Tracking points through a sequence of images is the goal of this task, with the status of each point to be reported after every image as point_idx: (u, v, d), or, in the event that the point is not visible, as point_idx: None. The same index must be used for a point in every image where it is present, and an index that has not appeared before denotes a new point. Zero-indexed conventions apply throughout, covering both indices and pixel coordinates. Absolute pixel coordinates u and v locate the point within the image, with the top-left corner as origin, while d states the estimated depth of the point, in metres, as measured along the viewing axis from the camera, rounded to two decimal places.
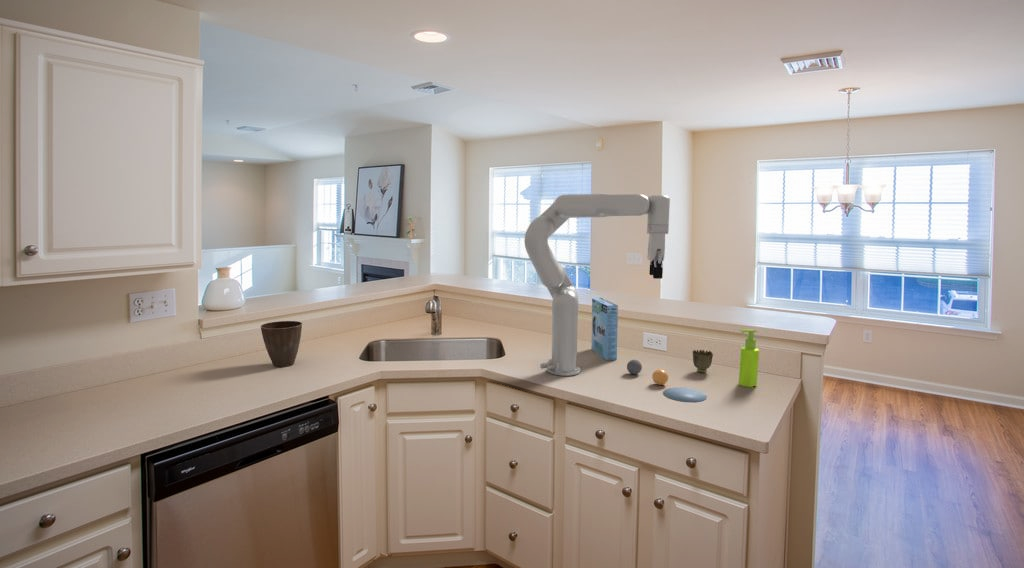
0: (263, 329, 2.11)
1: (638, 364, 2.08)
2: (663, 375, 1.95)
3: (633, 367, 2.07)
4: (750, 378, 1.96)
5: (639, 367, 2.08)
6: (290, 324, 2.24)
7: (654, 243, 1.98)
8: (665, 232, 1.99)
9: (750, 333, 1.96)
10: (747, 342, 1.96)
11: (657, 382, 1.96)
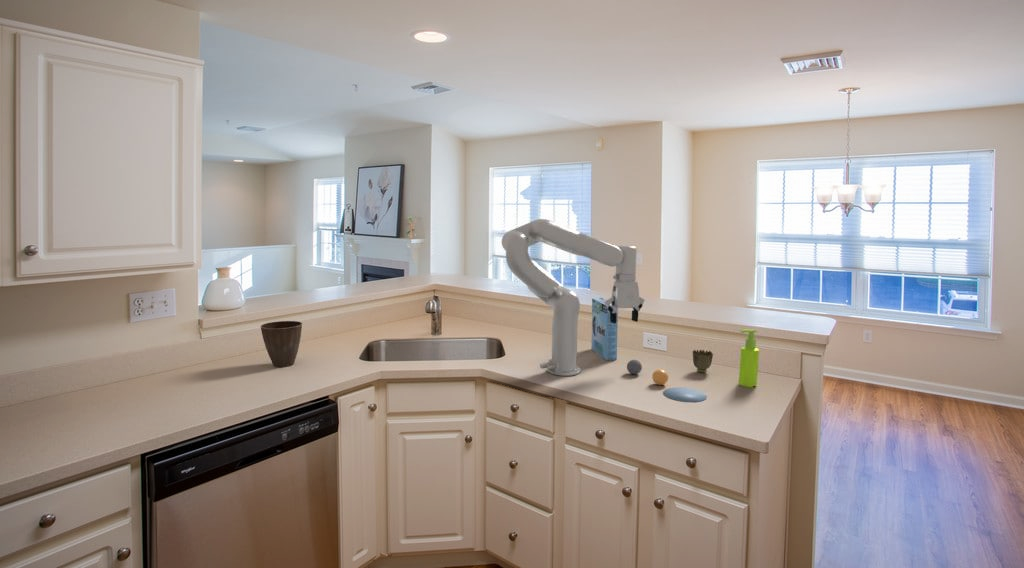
0: (263, 329, 2.11)
1: (638, 364, 2.08)
2: (663, 375, 1.95)
3: (633, 367, 2.07)
4: (750, 378, 1.96)
5: (639, 367, 2.08)
6: (290, 324, 2.24)
7: None
8: None
9: (750, 333, 1.96)
10: (747, 342, 1.96)
11: (657, 382, 1.96)
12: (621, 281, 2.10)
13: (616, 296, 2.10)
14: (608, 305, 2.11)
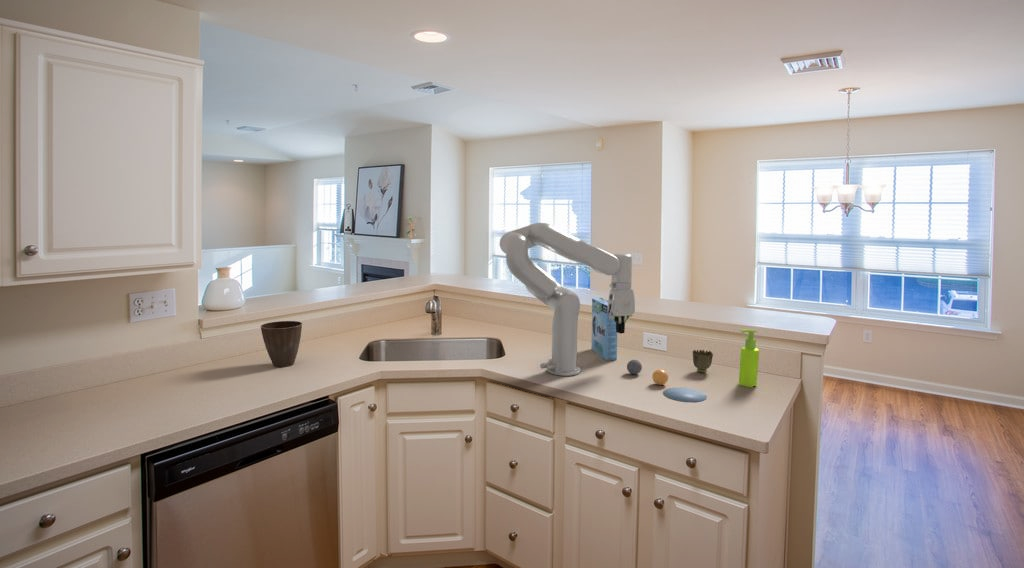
0: (263, 329, 2.11)
1: (638, 364, 2.08)
2: (663, 375, 1.95)
3: (633, 367, 2.07)
4: (750, 378, 1.96)
5: (639, 367, 2.08)
6: (290, 324, 2.24)
7: None
8: None
9: (750, 333, 1.96)
10: (747, 342, 1.96)
11: (657, 382, 1.96)
12: (618, 289, 2.11)
13: (613, 304, 2.11)
14: (613, 318, 2.14)
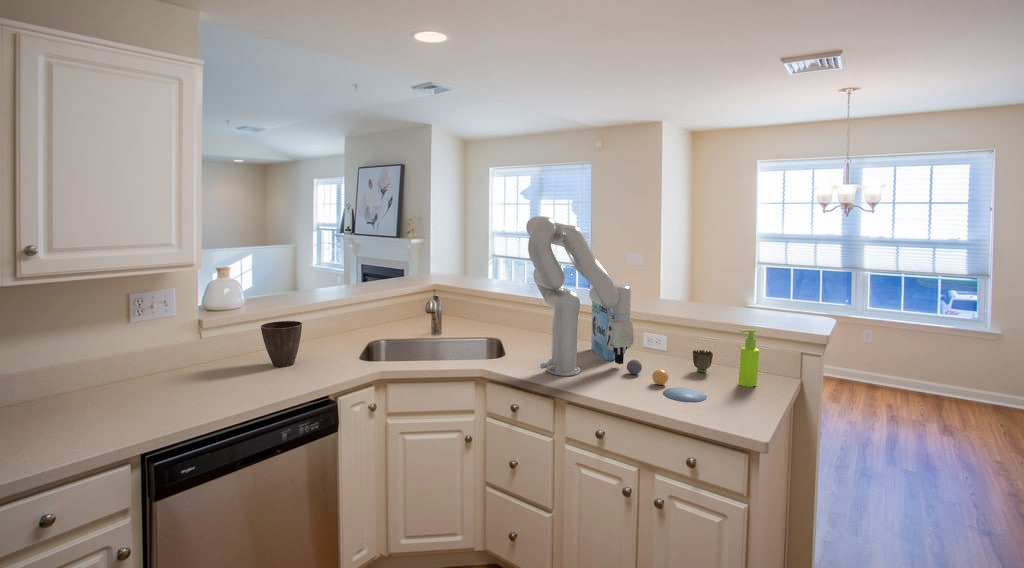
0: (263, 329, 2.11)
1: (638, 364, 2.08)
2: (663, 375, 1.95)
3: (633, 367, 2.07)
4: (750, 378, 1.96)
5: (639, 367, 2.08)
6: (290, 324, 2.24)
7: None
8: None
9: (750, 333, 1.96)
10: (747, 342, 1.96)
11: (657, 382, 1.96)
12: (617, 321, 2.13)
13: (612, 336, 2.13)
14: (612, 349, 2.15)
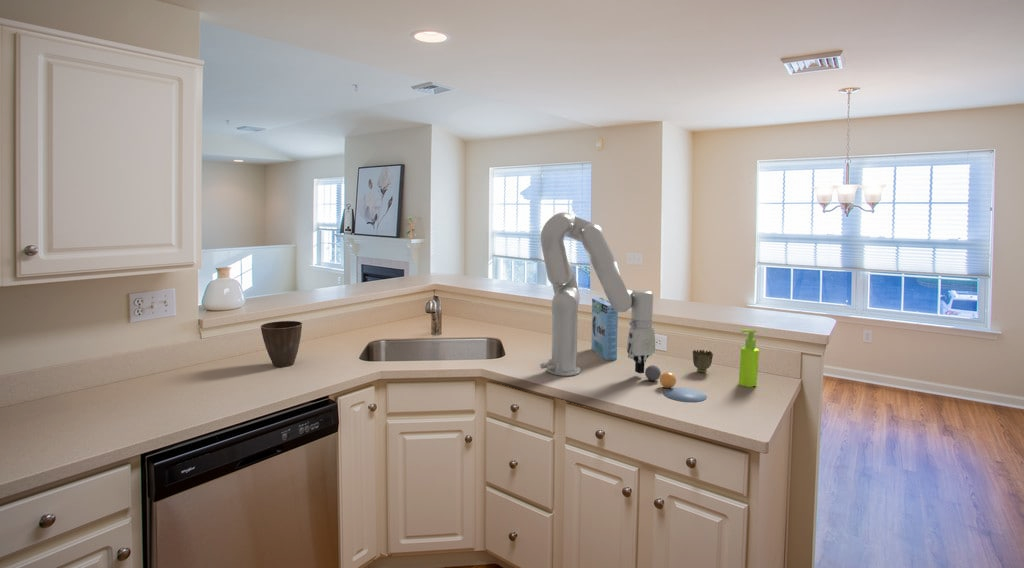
0: (263, 329, 2.11)
1: None
2: (669, 387, 1.93)
3: (645, 374, 2.03)
4: (750, 378, 1.96)
5: None
6: (290, 324, 2.24)
7: None
8: None
9: (750, 333, 1.96)
10: (747, 342, 1.96)
11: None
12: (638, 328, 2.02)
13: (633, 343, 2.02)
14: (633, 357, 2.04)
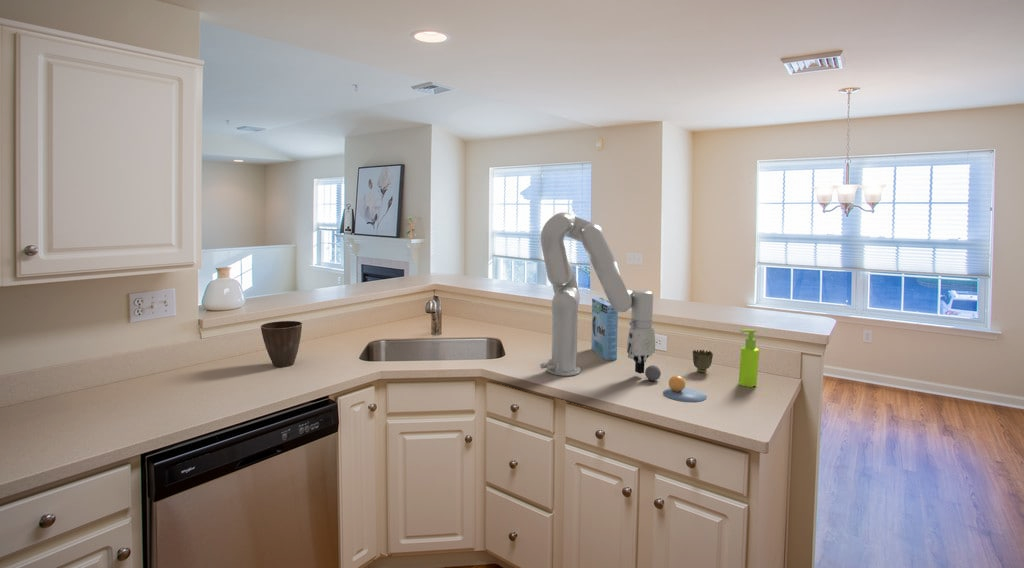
0: (263, 329, 2.11)
1: None
2: None
3: (645, 374, 2.03)
4: (750, 378, 1.96)
5: None
6: (290, 324, 2.24)
7: None
8: None
9: (750, 333, 1.96)
10: (747, 342, 1.96)
11: (670, 380, 1.91)
12: (638, 328, 2.02)
13: (633, 344, 2.02)
14: (633, 357, 2.04)
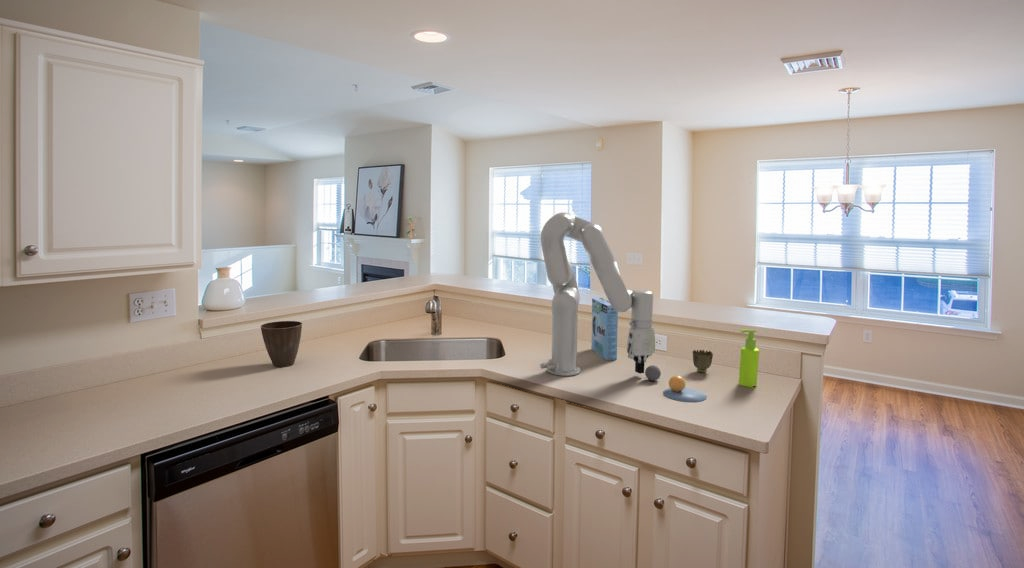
0: (263, 329, 2.11)
1: None
2: None
3: (645, 374, 2.03)
4: (750, 378, 1.96)
5: None
6: (290, 324, 2.24)
7: None
8: None
9: (750, 333, 1.96)
10: (747, 342, 1.96)
11: (670, 380, 1.91)
12: (638, 328, 2.02)
13: (633, 344, 2.02)
14: (633, 357, 2.04)
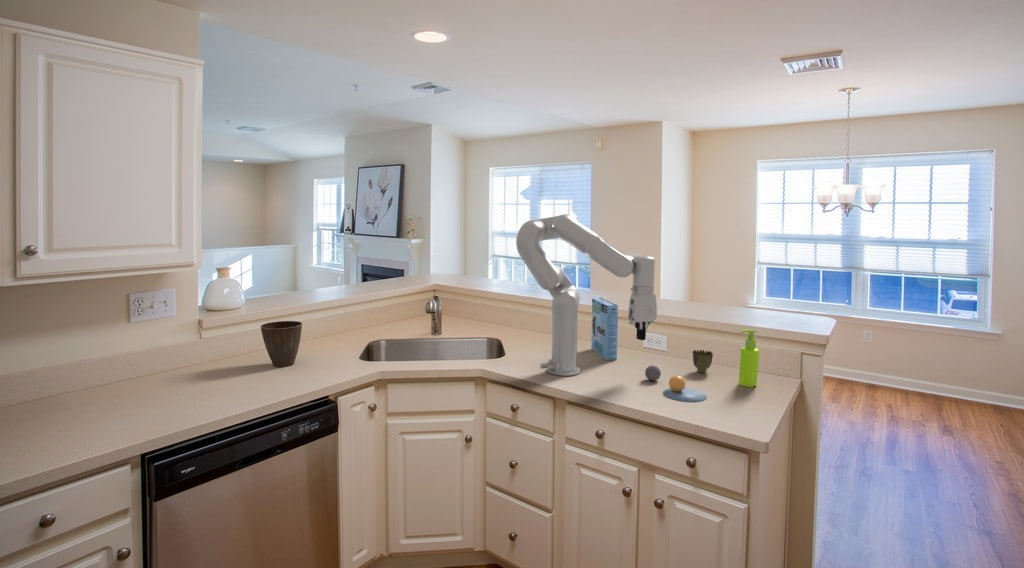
0: (263, 329, 2.11)
1: None
2: None
3: (645, 374, 2.03)
4: (750, 378, 1.96)
5: None
6: (290, 324, 2.24)
7: None
8: None
9: (750, 333, 1.96)
10: (747, 342, 1.96)
11: (670, 380, 1.91)
12: (639, 294, 2.00)
13: (634, 309, 2.00)
14: (634, 323, 2.03)
